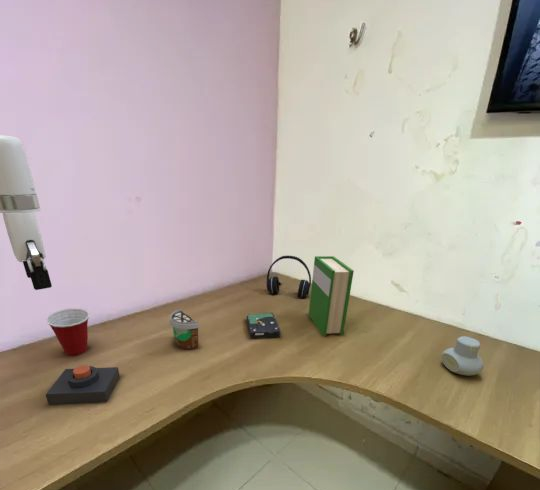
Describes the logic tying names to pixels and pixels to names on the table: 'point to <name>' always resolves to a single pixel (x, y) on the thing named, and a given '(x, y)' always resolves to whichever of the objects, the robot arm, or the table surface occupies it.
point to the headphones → (274, 281)
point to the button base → (83, 387)
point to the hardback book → (330, 294)
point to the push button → (82, 372)
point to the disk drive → (263, 325)
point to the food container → (184, 330)
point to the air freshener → (463, 357)
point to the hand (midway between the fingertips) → (39, 282)
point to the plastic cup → (70, 329)
